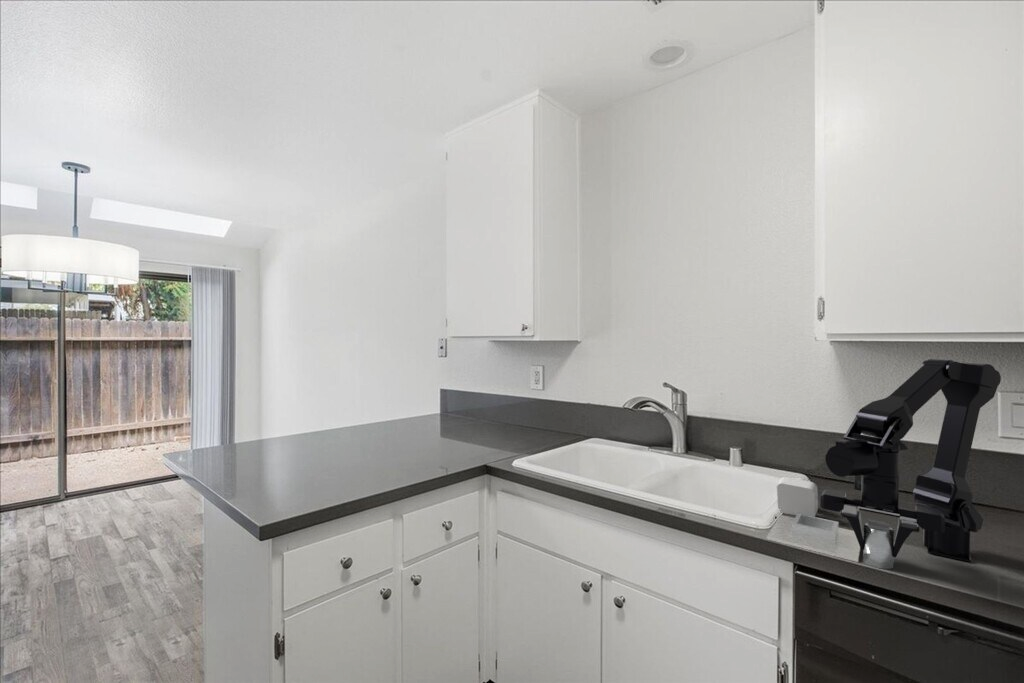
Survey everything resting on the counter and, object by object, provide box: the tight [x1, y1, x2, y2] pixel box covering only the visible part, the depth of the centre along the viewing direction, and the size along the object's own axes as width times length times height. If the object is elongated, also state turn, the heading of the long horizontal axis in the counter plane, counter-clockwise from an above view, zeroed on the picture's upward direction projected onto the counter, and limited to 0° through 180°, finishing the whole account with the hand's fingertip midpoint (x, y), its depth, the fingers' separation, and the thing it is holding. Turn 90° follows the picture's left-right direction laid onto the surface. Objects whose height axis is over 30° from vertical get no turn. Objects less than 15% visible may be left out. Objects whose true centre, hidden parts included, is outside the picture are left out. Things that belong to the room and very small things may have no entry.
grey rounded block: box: [776, 476, 819, 517], centre depth 119 cm, size 8×10×10 cm
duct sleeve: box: [862, 519, 895, 570], centre depth 92 cm, size 5×5×8 cm
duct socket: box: [766, 513, 861, 563], centre depth 104 cm, size 16×16×3 cm
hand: (878, 552), depth 92 cm, fingers closed on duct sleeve, 5 cm apart
